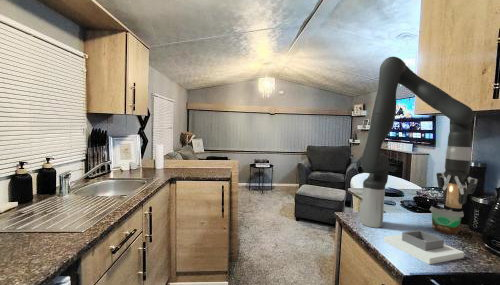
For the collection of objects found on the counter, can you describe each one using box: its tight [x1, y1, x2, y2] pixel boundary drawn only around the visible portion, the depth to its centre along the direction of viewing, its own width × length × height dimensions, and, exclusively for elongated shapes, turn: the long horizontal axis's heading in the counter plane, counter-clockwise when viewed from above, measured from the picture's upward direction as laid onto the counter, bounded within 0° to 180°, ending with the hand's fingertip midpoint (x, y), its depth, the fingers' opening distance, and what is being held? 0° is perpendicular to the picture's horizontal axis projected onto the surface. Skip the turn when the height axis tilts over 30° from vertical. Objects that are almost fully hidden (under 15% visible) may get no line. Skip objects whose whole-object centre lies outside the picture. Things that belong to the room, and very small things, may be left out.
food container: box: [429, 205, 465, 235], centre depth 116 cm, size 12×6×10 cm, turn 56°
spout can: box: [445, 183, 464, 210], centre depth 102 cm, size 5×5×11 cm
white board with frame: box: [383, 229, 465, 265], centre depth 97 cm, size 18×17×5 cm
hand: (454, 201), depth 102 cm, fingers closed on spout can, 5 cm apart
